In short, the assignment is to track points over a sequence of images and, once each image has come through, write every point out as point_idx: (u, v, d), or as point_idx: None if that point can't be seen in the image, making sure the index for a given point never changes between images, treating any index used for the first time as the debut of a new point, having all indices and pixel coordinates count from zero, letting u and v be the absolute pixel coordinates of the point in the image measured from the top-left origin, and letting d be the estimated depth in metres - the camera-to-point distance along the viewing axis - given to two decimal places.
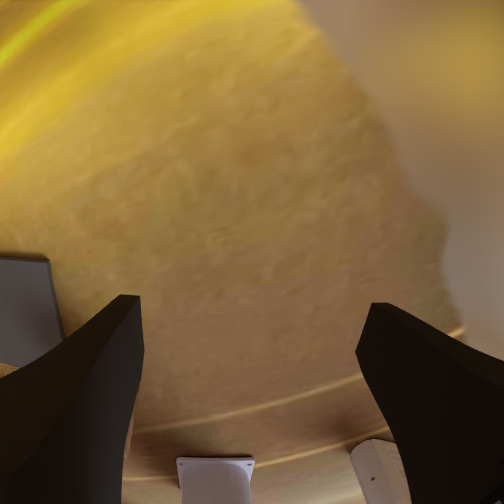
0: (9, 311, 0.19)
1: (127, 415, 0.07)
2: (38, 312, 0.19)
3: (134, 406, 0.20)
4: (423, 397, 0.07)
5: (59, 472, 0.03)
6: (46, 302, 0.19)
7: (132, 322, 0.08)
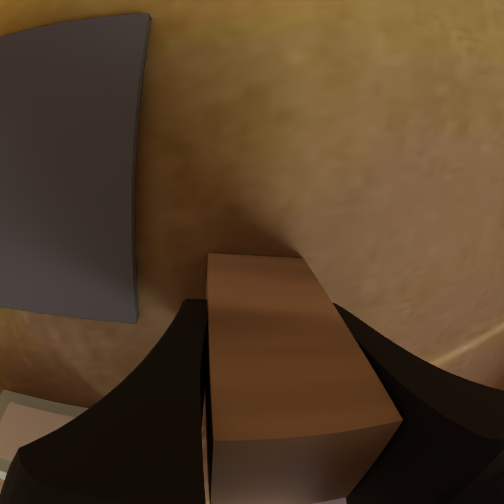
0: (11, 156, 0.08)
1: (201, 420, 0.07)
2: (86, 141, 0.08)
3: None
4: None
5: None
6: (117, 109, 0.08)
7: None
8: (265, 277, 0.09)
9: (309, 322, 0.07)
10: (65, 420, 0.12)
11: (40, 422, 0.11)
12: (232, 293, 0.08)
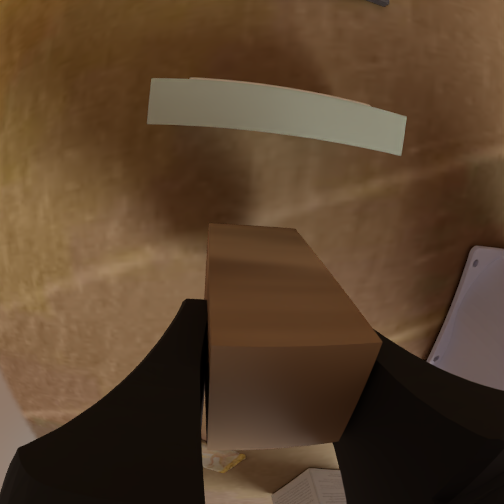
0: None
1: (201, 420, 0.07)
2: None
3: None
4: (359, 409, 0.06)
5: None
6: None
7: None
8: (260, 240, 0.10)
9: (298, 271, 0.08)
10: None
11: None
12: (229, 249, 0.09)
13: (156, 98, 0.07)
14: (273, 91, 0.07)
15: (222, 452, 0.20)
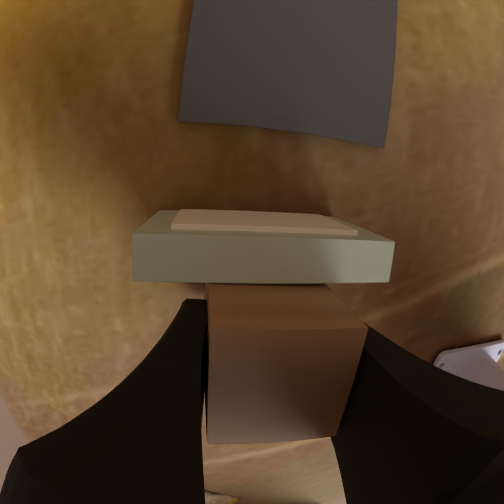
0: None
1: (201, 420, 0.07)
2: (365, 3, 0.09)
3: None
4: (359, 409, 0.06)
5: None
6: None
7: None
8: None
9: None
10: (278, 213, 0.12)
11: (244, 213, 0.11)
12: None
13: (139, 254, 0.08)
14: (256, 240, 0.08)
15: (219, 497, 0.22)
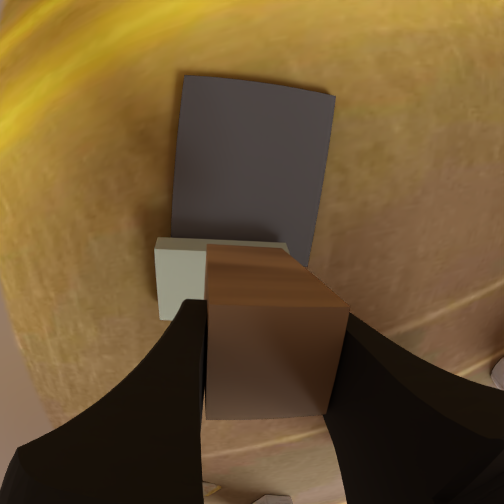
0: (245, 160, 0.16)
1: (200, 420, 0.07)
2: (299, 161, 0.17)
3: None
4: (359, 409, 0.06)
5: None
6: (318, 146, 0.17)
7: (206, 327, 0.08)
8: (250, 253, 0.12)
9: (282, 269, 0.10)
10: None
11: None
12: (224, 258, 0.11)
13: (159, 242, 0.17)
14: (214, 241, 0.17)
15: (206, 485, 0.29)
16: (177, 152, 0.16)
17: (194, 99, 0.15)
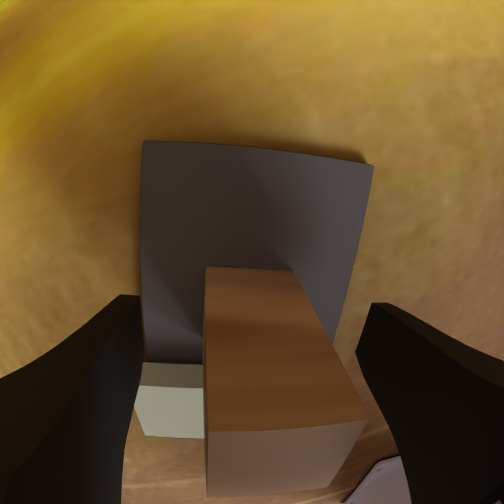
0: None
1: (127, 415, 0.07)
2: (318, 263, 0.12)
3: None
4: (423, 397, 0.07)
5: (59, 472, 0.03)
6: (345, 241, 0.12)
7: (132, 322, 0.08)
8: (257, 290, 0.10)
9: (294, 331, 0.08)
10: None
11: None
12: (226, 305, 0.09)
13: None
14: (202, 367, 0.13)
15: None
16: (142, 259, 0.11)
17: (160, 181, 0.10)
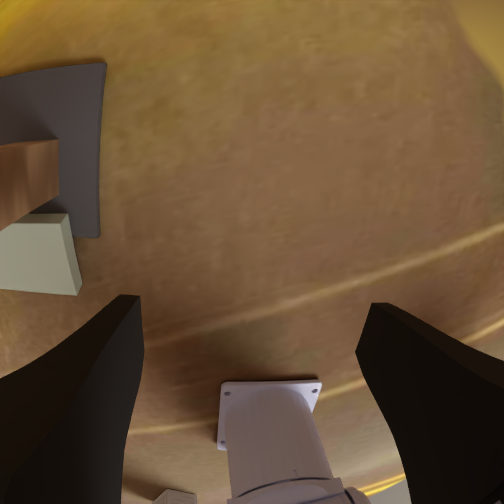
0: None
1: (127, 415, 0.07)
2: (73, 132, 0.15)
3: (37, 195, 0.13)
4: (423, 397, 0.07)
5: (59, 472, 0.03)
6: (89, 115, 0.15)
7: (132, 322, 0.08)
8: (23, 143, 0.13)
9: (11, 147, 0.11)
10: None
11: None
12: None
13: None
14: None
15: None
16: None
17: None
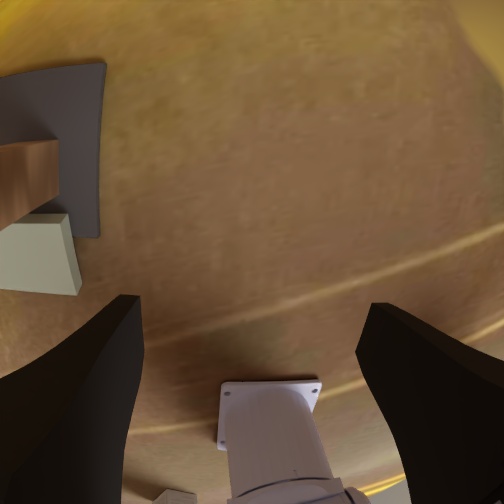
0: None
1: (127, 415, 0.07)
2: (73, 133, 0.15)
3: (37, 195, 0.13)
4: (423, 397, 0.07)
5: (59, 472, 0.03)
6: (89, 115, 0.15)
7: (132, 322, 0.08)
8: (23, 143, 0.13)
9: (11, 147, 0.11)
10: None
11: None
12: None
13: None
14: None
15: None
16: None
17: None
